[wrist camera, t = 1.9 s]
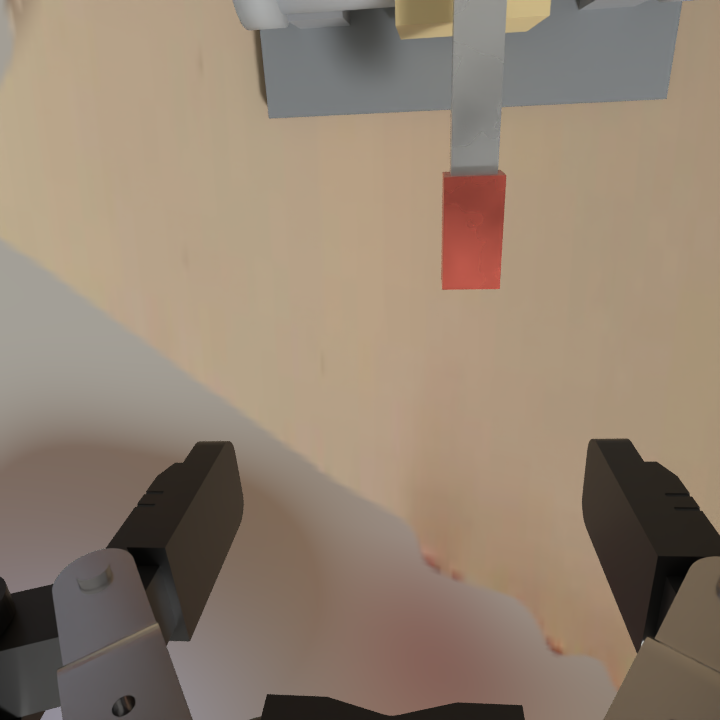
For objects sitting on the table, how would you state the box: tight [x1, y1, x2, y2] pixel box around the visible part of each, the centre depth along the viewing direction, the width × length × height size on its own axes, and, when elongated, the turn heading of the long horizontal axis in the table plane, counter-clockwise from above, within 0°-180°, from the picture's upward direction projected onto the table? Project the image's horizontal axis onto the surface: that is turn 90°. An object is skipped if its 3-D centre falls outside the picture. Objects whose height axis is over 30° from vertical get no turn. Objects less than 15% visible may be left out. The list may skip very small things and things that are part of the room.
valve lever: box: [441, 0, 507, 290], centre depth 24 cm, size 16×3×2 cm, turn 2°
